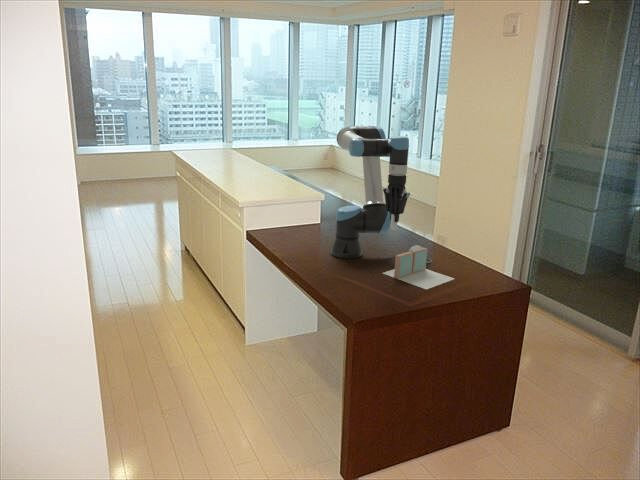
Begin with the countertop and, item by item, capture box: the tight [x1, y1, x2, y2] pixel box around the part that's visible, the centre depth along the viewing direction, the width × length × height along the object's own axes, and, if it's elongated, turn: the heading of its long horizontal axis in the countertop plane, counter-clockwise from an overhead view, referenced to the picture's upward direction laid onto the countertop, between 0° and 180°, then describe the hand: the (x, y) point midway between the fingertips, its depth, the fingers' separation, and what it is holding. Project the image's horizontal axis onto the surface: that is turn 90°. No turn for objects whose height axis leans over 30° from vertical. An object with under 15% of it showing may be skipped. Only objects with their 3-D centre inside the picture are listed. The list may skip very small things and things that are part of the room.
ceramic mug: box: [408, 244, 433, 264], centre depth 248 cm, size 11×8×8 cm
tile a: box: [393, 250, 413, 280], centre depth 226 cm, size 2×9×10 cm, turn 132°
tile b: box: [411, 246, 428, 274], centre depth 233 cm, size 2×9×10 cm, turn 132°
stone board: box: [382, 268, 455, 290], centre depth 229 cm, size 24×20×1 cm
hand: (393, 228), depth 227 cm, fingers closed
